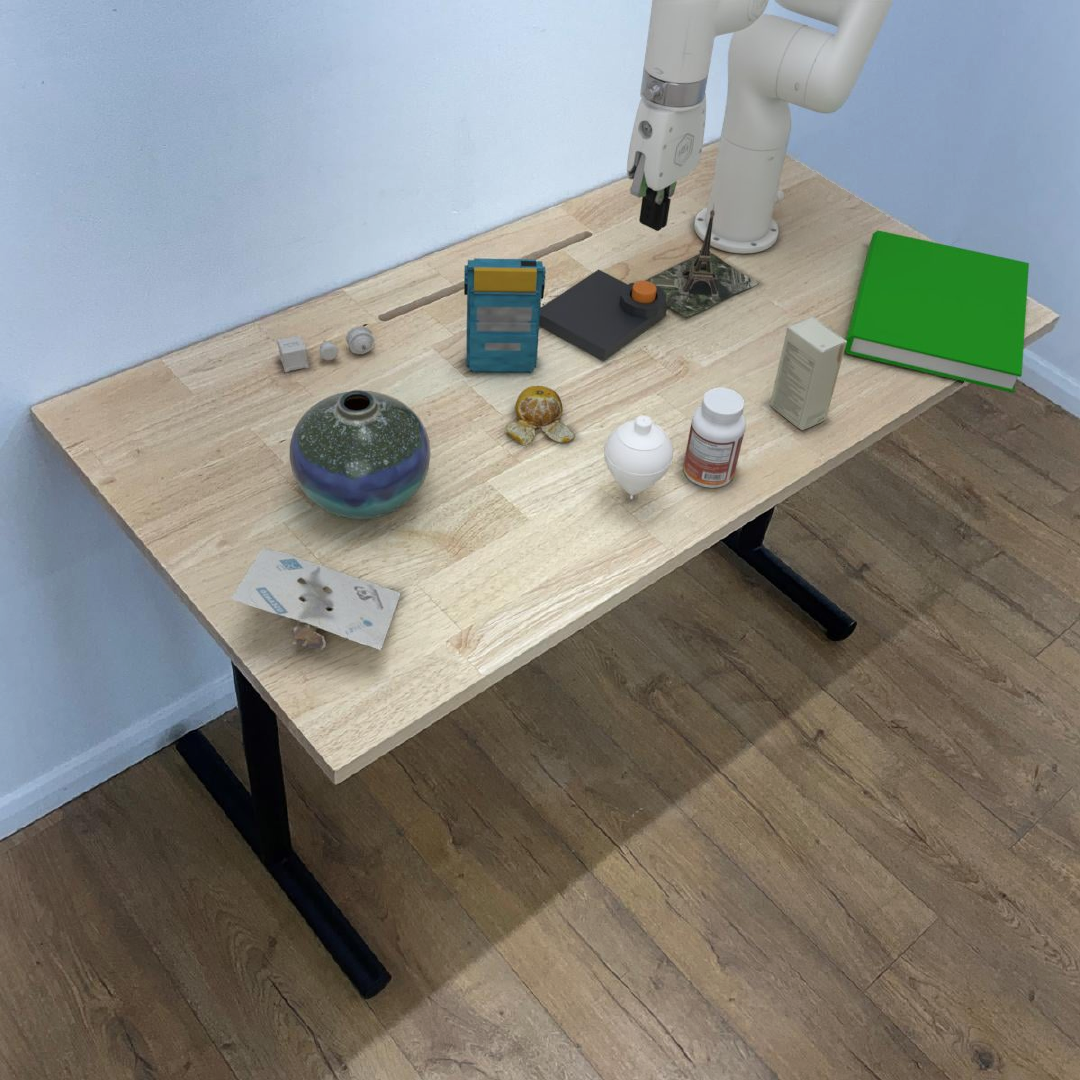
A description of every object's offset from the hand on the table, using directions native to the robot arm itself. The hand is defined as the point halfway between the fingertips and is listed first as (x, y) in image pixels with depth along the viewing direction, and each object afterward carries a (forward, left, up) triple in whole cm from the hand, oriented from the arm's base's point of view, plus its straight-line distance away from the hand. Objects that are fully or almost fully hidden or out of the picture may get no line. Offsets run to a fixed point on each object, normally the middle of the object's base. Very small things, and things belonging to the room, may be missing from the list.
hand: (652, 224), depth 149 cm
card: (+69, +7, -15) cm, 71 cm away
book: (-30, +30, -14) cm, 45 cm away
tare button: (0, 0, -11) cm, 11 cm away
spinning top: (+29, +20, -15) cm, 38 cm away
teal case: (+21, -7, -15) cm, 27 cm away
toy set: (+36, -22, -13) cm, 44 cm away
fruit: (+27, +4, -15) cm, 31 cm away
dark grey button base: (+4, -4, -14) cm, 15 cm away
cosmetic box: (+2, +26, -15) cm, 30 cm away
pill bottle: (+19, +24, -15) cm, 34 cm away
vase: (+50, -3, -14) cm, 52 cm away
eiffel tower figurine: (-12, +1, -15) cm, 19 cm away
